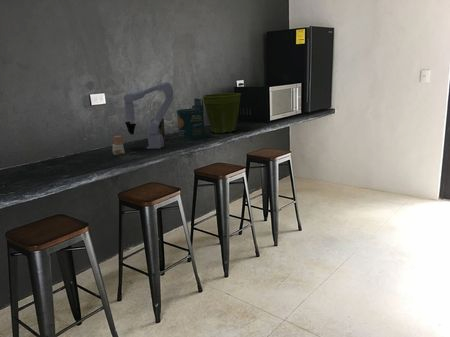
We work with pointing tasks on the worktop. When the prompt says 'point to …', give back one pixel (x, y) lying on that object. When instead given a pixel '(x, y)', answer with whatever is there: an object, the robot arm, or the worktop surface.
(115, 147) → the tower top
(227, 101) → the plant pot
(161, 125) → the coffee box
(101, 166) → the worktop surface
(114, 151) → the tower base
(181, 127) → the donation box
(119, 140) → the terracotta cube
